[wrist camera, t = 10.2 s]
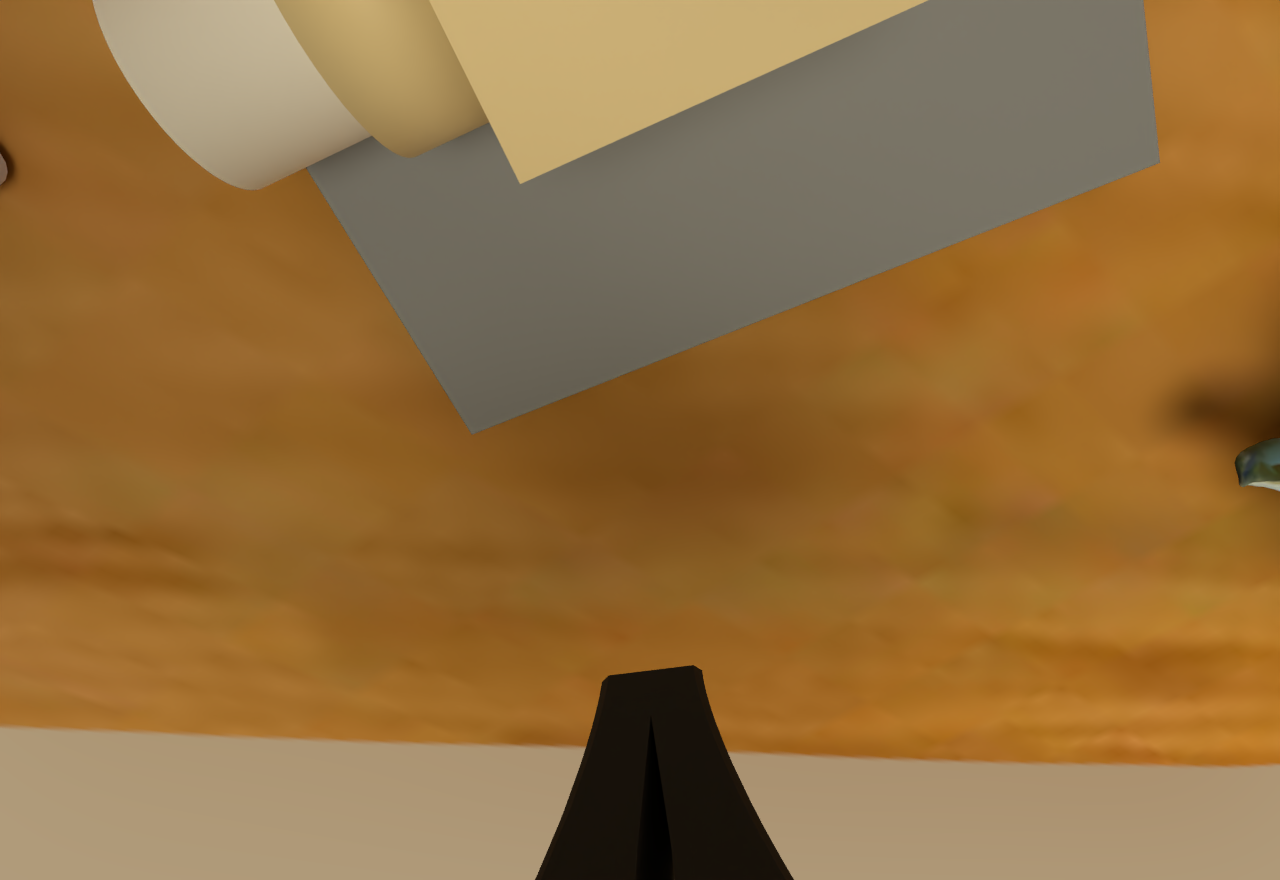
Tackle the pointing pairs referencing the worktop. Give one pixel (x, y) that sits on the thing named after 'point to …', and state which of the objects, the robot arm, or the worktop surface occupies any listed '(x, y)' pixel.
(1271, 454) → the passion flower
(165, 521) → the worktop surface
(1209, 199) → the worktop surface
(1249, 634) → the worktop surface
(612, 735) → the robot arm
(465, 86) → the valve board
